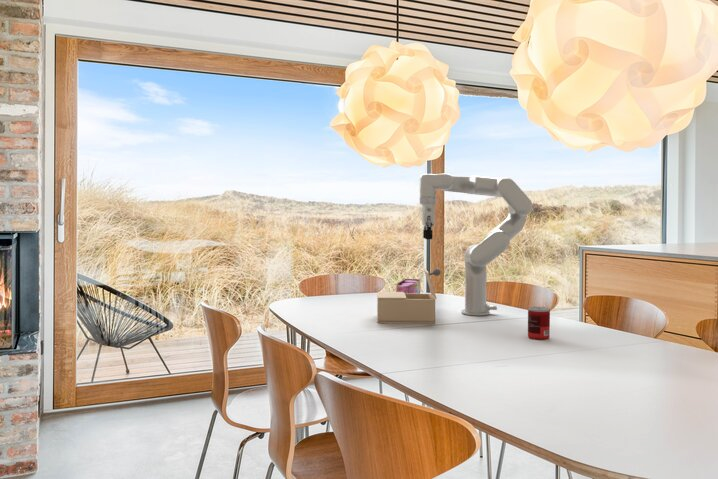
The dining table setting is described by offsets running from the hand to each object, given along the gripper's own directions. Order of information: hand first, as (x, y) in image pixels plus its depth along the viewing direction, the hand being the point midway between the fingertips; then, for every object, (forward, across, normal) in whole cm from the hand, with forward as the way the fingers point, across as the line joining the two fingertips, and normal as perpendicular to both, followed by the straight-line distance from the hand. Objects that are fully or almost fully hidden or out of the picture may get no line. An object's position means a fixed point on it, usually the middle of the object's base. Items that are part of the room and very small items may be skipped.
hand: (427, 238), depth 259 cm
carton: (+34, -15, +11) cm, 39 cm away
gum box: (+35, +11, +8) cm, 37 cm away
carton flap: (+19, -15, +1) cm, 24 cm away
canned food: (+34, -51, -36) cm, 71 cm away
